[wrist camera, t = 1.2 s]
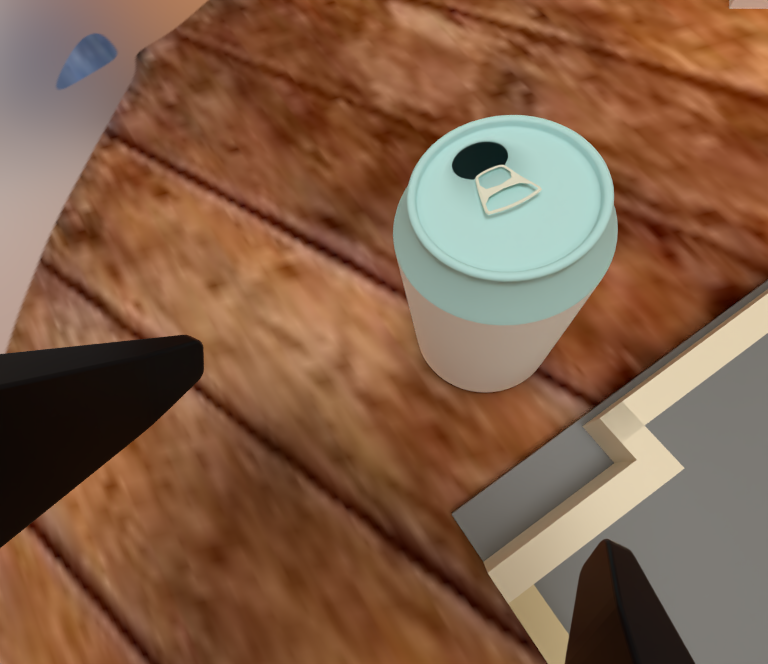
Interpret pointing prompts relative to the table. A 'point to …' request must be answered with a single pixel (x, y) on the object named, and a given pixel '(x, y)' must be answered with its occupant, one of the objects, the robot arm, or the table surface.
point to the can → (502, 245)
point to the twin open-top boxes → (748, 4)
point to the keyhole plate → (650, 497)
